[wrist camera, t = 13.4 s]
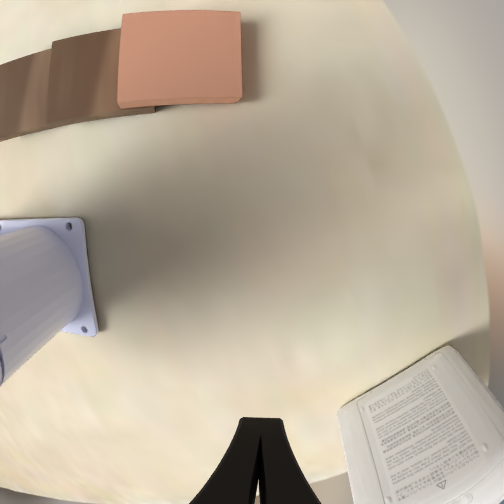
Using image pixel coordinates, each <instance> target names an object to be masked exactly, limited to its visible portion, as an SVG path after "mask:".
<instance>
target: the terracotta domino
mask: <svg viewBox="0 0 504 504" xmlns="http://www.w3.org/2000/svg"><path fill="white" fill-rule="evenodd" d="M241 98H242V62H241V22H240V12H231V11H208V10H176V11H153V12H140V13H129V14H123V17H122V27H121V38H120V50H119V66H118V90H117V103H118V105H119V106H120V108H121V109H123V108H133V107H144V106H157V105H174V104H199V103H236V102H238V101H239V100H240V99H241Z"/></svg>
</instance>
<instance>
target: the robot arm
mask: <svg viewBox="0 0 504 504" xmlns="http://www.w3.org/2000/svg"><path fill="white" fill-rule="evenodd" d="M69 223H71V224H72V229H70V227H69ZM1 227H2V228H1ZM84 327H86V328H87V330H86V329H85V328H84ZM60 331H62V332H68V333H73V334H79V335H85V336H91V337H94V336H96V335H97V334H98V332H99V329H98V323H97V318H96V312H95V307H94V301H93V294H92V288H91V281H90V274H89V266H88V257H87V248H86V238H85V226H84V222H83V220H82V219H81V218H78V217H75V218H37V219H10V220H0V386H1V385H2V384H3V383H4V382H5V381H6V380H7V379H8V378H9V377H10V376H11V375H13V374H14V373H15V372H16V371H17V370H18V369H19V368H20V367H21V366H22V365H23V364H24V363H25V362H26V361H27V360H29V359H30V358H31V357H32V356H33V355H34V354H35V353H36V352H37V351H38V350H39V349H41V348H42V347H43V346H44V345H45V344H46V343H47V342H48V341H49V340H51V339H52V338H53V337H54V336H55V335H56V334H57V333H58V332H60ZM258 479H259V495H260V504H321V502H320V501H319V499H318V498H317V496H316V495H315V493H314V492H313V490H312V489H311V487H310V485H309V484H308V482H307V480H306V478H305V477H304V475H303V473H302V471H301V469H300V467H299V465H298V463H297V461H296V458H295V456H294V454H293V452H292V449H291V447H290V444H289V441H288V439H287V436H286V432H285V429H284V424H283V420H281V419H280V418H252V417H243V418H241V419H240V420H239V424H238V427H237V430H236V432H235V435H234V437H233V439H232V441H231V443H230V446H229V448H228V449H227V451H226V453H225V455H224V456H223V458H222V460H221V462H220V463H219V465H218V467H217V468H216V470H215V471H214V472H213V474H212V475H211V477H210V478H209V480H208V481H207V483H206V484H205V485H204V487H203V488H202V489H201V490H200V492H199V493H198V494H197V495H196V496H195V498H194V499H193V500H192V501H191V502H190V503H189V504H254V503H255V497H256V491H257V485H258Z"/></svg>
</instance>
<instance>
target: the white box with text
mask: <svg viewBox="0 0 504 504" xmlns="http://www.w3.org/2000/svg"><path fill="white" fill-rule="evenodd" d="M337 416H338V424H339V429H340V434H341V439H342V444H343V449H344V454H345V458H346V464H347V469H348V475H349V480H350V485H351V491H352V496H353V502H354V504H499V503H500V502H501V501H502V500H503V499H504V409H503V407H502V406H501V405H500V403H499V402H498V401H497V399H496V398H495V397H494V395H493V394H492V393H491V391H490V390H489V389H488V388H487V386H486V385H485V384H484V383H483V381H482V380H481V379H480V378H479V376H478V375H477V374H476V373H475V371H474V370H473V369H472V368H471V367H470V365H469V364H468V363H467V362H466V361H465V359H464V358H463V357H462V356H461V355H460V353H459V352H458V351H457V350H456V349H454V348H452V347H451V346H449V345H448V346H444V347H442V348H440V349H439V350H437V351H435V352H433V353H432V354H430V355H428V356H427V357H425V358H424V359H422V360H421V361H419V362H417V363H416V364H414V365H413V366H411V367H409V368H408V369H406V370H404V371H403V372H401V373H399V374H398V375H396V376H394V377H393V378H391V379H389V380H388V381H386V382H384V383H383V384H381V385H379V386H377V387H376V388H374V389H372V390H370V391H368V392H367V393H365V394H363V395H361V396H360V397H358V398H356V399H354V400H352V401H351V402H349V403H348V404H346V405H344V406H343V407H342V408H340V409H339V410H338V412H337Z"/></svg>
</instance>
